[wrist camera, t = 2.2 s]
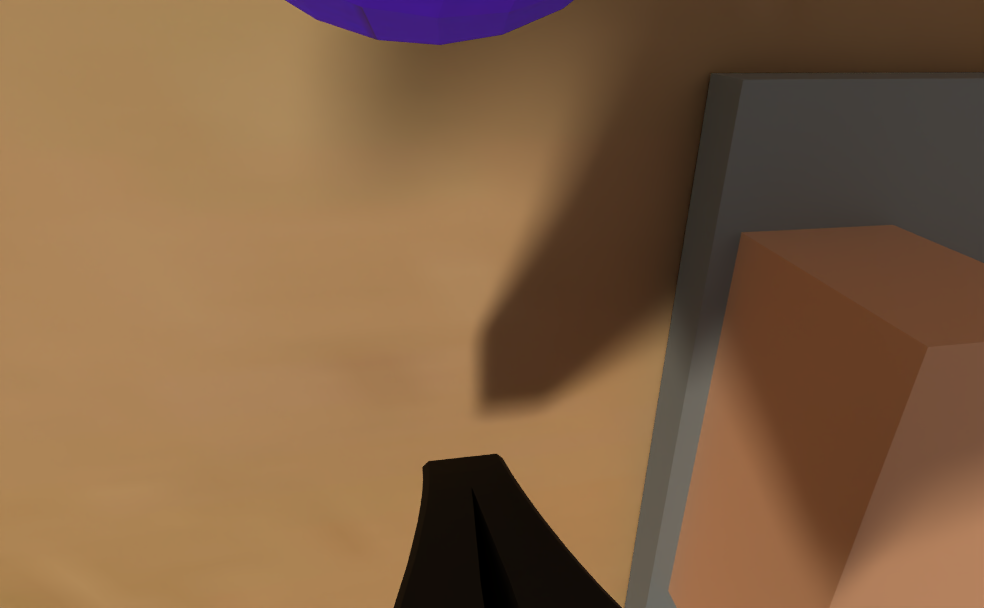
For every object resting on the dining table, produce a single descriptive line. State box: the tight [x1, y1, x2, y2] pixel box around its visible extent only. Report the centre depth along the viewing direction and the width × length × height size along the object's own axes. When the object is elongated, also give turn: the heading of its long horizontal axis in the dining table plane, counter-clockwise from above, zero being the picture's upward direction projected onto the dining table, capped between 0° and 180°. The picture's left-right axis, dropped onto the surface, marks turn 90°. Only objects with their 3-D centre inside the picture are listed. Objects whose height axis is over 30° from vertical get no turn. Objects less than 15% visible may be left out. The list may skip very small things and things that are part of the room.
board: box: [625, 72, 984, 608], centre depth 15 cm, size 18×17×1 cm
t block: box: [668, 225, 984, 608], centre depth 11 cm, size 9×9×4 cm
